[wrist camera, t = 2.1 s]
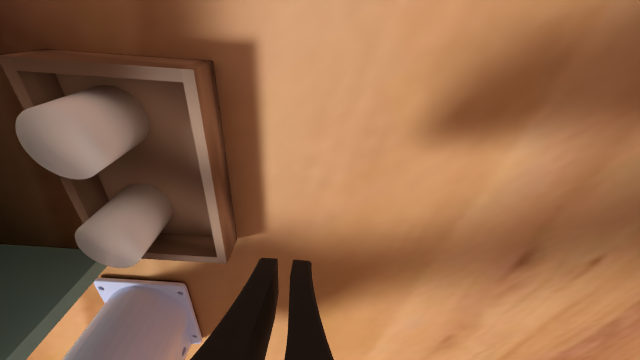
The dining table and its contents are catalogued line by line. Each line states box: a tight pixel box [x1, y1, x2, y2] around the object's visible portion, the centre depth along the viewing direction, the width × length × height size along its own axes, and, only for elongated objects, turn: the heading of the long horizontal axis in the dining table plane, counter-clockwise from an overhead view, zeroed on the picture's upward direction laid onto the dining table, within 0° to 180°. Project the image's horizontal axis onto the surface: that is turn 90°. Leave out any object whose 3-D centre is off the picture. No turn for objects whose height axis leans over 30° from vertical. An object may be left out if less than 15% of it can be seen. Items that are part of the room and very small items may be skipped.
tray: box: [0, 49, 237, 264], centre depth 17 cm, size 13×9×2 cm
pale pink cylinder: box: [15, 85, 150, 179], centre depth 14 cm, size 4×4×4 cm
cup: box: [75, 184, 173, 268], centre depth 18 cm, size 4×4×4 cm
